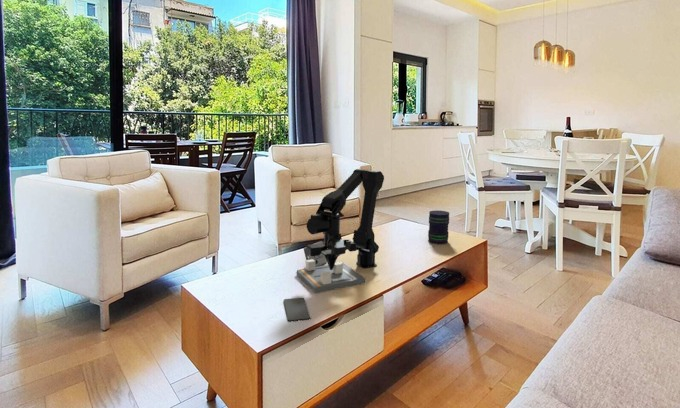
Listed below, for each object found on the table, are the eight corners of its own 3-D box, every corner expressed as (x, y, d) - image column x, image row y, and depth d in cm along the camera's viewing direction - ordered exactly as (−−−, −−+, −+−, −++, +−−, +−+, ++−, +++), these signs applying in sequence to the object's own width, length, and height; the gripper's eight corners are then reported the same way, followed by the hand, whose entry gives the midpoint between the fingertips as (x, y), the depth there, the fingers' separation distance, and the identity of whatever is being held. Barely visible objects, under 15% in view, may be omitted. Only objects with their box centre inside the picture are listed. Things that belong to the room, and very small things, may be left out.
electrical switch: (312, 269, 160) (310, 246, 159) (303, 267, 164) (301, 245, 162) (327, 262, 168) (326, 241, 166) (318, 261, 171) (316, 240, 170)
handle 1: (312, 267, 155) (312, 259, 155) (315, 269, 153) (315, 261, 152) (305, 268, 154) (305, 260, 153) (308, 270, 152) (307, 262, 151)
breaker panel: (342, 267, 162) (342, 262, 162) (365, 283, 145) (365, 277, 145) (296, 274, 154) (296, 269, 153) (315, 293, 137) (315, 287, 136)
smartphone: (287, 320, 117) (283, 298, 131) (287, 323, 117) (283, 301, 131) (311, 318, 118) (304, 297, 132) (311, 321, 118) (304, 299, 133)
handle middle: (339, 270, 152) (339, 261, 151) (342, 272, 150) (342, 263, 149) (332, 271, 151) (332, 263, 150) (335, 273, 149) (335, 265, 148)
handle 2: (328, 280, 142) (328, 271, 141) (331, 283, 140) (331, 273, 139) (320, 282, 141) (320, 272, 140) (323, 284, 139) (323, 275, 138)
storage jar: (426, 243, 195) (427, 213, 192) (428, 238, 204) (430, 209, 201) (447, 245, 192) (449, 215, 189) (448, 239, 201) (450, 211, 198)
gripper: (316, 237, 135) (316, 280, 138) (364, 232, 143) (363, 273, 146) (305, 229, 145) (305, 270, 148) (350, 225, 153) (349, 264, 156)
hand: (331, 269), depth 149 cm, fingers closed
